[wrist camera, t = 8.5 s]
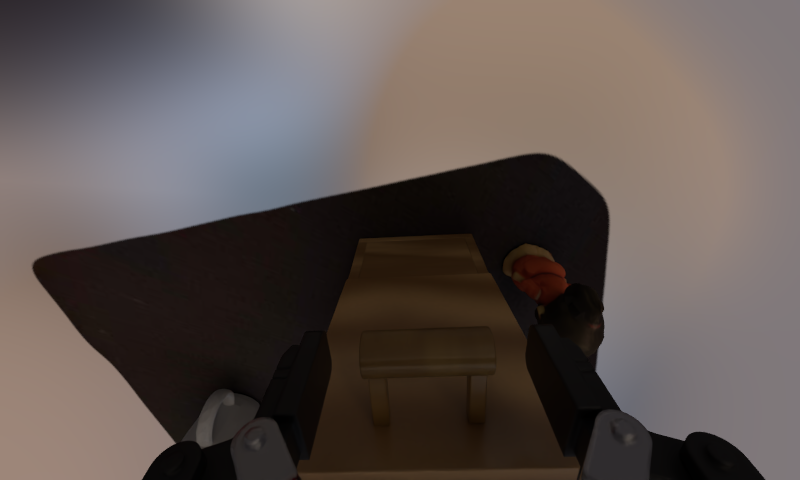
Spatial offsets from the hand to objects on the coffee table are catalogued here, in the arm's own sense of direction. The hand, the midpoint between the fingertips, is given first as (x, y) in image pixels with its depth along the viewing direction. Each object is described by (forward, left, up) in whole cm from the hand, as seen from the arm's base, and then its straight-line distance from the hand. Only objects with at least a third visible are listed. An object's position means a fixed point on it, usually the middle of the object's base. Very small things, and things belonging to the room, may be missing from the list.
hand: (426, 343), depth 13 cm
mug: (+40, +1, -21) cm, 45 cm away
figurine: (-1, +15, -21) cm, 26 cm away
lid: (+4, +3, -5) cm, 7 cm away
